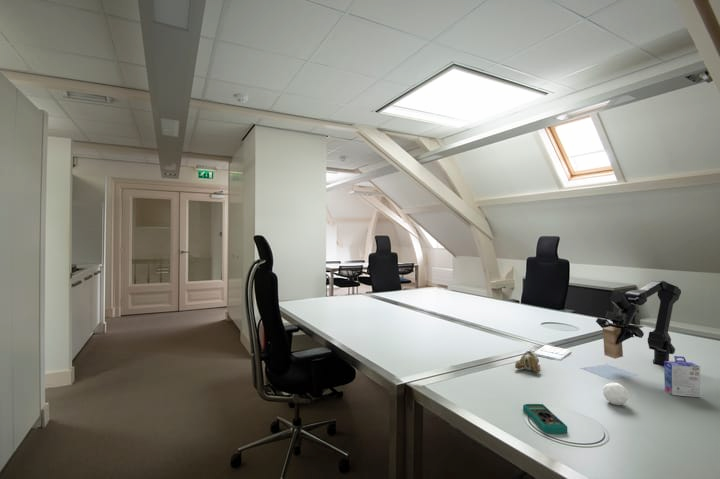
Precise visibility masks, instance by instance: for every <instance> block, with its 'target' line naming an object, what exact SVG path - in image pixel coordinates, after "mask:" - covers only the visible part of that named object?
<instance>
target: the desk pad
mask: <svg viewBox="0 0 720 479" xmlns="http://www.w3.org/2000/svg"><path fill="white" fill-rule="evenodd" d="M581 369H582V370H583V371H586V372H589V373H592V374H593V375H597V376H599V377H602V378H604V379H606V380H610V381H611V380H616V379H621V378H627V377H633V376H638V374H637V373H634V372H631V371H628V370H625V369H622V368H619V367H617V366H614V365H611V364H608V363H606V364H600V365H593V366H586V367H580V370H581Z"/></svg>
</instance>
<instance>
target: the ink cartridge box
mask: <svg viewBox="0 0 720 479" xmlns="http://www.w3.org/2000/svg"><path fill="white" fill-rule="evenodd" d="M673 356H674V361H672V360H669V361H664V365H663V367H664V370H663V373H664V391H666V392H667V393H668V394H670V395H671V396H681V397H682V396H683V397H693V398H701V366H700V365H697V364H696V363H693V362H688V361H687V360H686V358H685V356H681V355H680V356H679V355H678V356H677V355H673Z"/></svg>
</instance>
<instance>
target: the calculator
mask: <svg viewBox="0 0 720 479" xmlns="http://www.w3.org/2000/svg"><path fill="white" fill-rule="evenodd" d="M533 352H534V353H535V354H536V356H537V357H542V358H545V359H550V360H557V361H562V360H563V359H565V358H567V357H568V356H570V355H571V353H572V350H571V349H567V348H563V347H557V346H553V345H552V346H551V345H548V344H545V345H543V346H542V347H540V348H539V349H537V350H535V351H533Z"/></svg>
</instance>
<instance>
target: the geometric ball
mask: <svg viewBox="0 0 720 479" xmlns="http://www.w3.org/2000/svg"><path fill="white" fill-rule="evenodd" d="M602 394H603V396H604V398H605V400H606V401H607V402H609V403H611V404H612V405H615V406H621V405H622V406H623V405H625V404H626V403H627V402H628V401H629V398H630V397H629V392H628V391H627V389H626V388H625V386H623V385H622V384H620V383H618V382H609V383H607V384H605V385H604V386H603V388H602Z"/></svg>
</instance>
